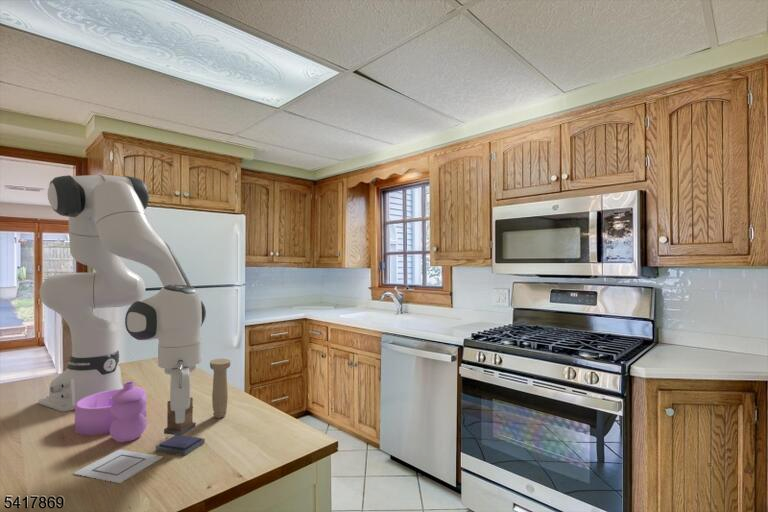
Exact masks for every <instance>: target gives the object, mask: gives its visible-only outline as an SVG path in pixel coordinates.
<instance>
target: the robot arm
mask: <svg viewBox="0 0 768 512" xmlns="http://www.w3.org/2000/svg"><path fill="white" fill-rule="evenodd" d="M149 198H150V196H149V190H148V187H147V185H146V183H145V182H143V180H142V179H140V178H137V177H133V176H129V175H127V176H119V175H110V174H98V175H96V174H95V175H94V174H91V175H89V174H87V175H74V176H72V175H70V174H68V175H61V176H56V177H54V178H53V179H52V180H51V181H50V182H49V185H48V189H47V199H48V202H49V205H50V207H51V208H52V210H53V211H54V212H55V213H57V214H58V215H59V216H61V217H62V216H63V217H68V238H69V252H70V255H71V257H72V258H73V259H74V260H75V261H76V262H78V263H80V264H82V265H85V266H87V267H89V268H91V269H93V270H94V272H66V273H59V274H54V275H49V276H48V277H46V279H44V280H43V282H42V283H41V285H40V288H39V298H40V300H41V302H42V303H43V304H44V305H45V306H46V307H47V308H49V309H50V310H53V311H54V312H55V313H57V314H59V315H60V317H62V318H63V319H64V321H65V322H66V324H67V325H68V328H69V330H70V337H71V356H69V357H65V362H66V363H67V366H66V369H65V370H64V371H63V372H61V373H60V374H59V375H58V376H56V377H55V378H54V379H52V381H51V382H50V384H49V390H48V394H47V395H46V396H43V397H41V398H40V399H38V402H37V403H38V404H39V405H42V406H43V407H44V406H45V407H47V408H51V409H53V410H56V411H58V412H68V411H73V410H74V411H75V403H76V402H77V401H79V400H80V399H82V398H84V397H87V396H89V395H93V394H96V393H100V392H104V391H109V390H115V389H123V388H124V386H123V383H122V380H123V379H122V371H121V367H120V365H119V363H120V351H119V350H118V327H117V325H115V323H113V322H111V321H109V320H107V319H104V318H100V317H98V316H96V315H95V312H94V309H104V308H105V309H106V308H107V309H108V308H122V307H127V306H128V309H127V311H126V313H125V318H124V319H125V320H124V326H125V329H126V331H127V332H128V334H129V335H130V336H131V337H132V338H134V339H136V340H137V341H152V340H156V339H157V340H158V347H157V350H158V351H157V354H158V355H157V366H158V368H160V369H164V370H163V371H164V374H166V375H169V377H170V382H169V383H170V385H169V386H170V389H169V391H170V395H169V397H170V398H169V399H170V400H169V401H170V408H171V411H175V422H176V423H177V424H178V423H183V422H184V421H185V409H188V408H189V407H190V397H191V372H193V371H196V365H199V364H200V363H201V362H202V359H203V358H202V357H203V356H202V353H203V349H202V346H203V344H202V341H203V339H202V337H201V328H202V325H203V324H204V323H205V321H206V320H205V319H206V316H207V312H206V311H207V310H206V307H205V304H204V302H203V301H202V299H201V295H200V293H199V290H198V289H197V288H196V287H194V286H191V282H190V281H189V279H188V276H186V274H185V272H184V270H183V268H182V266H181V264H180V262H179V260H178V258H177V257H176V254H175V252H174V251H173V250H172V248H171V247H170V245H169V244H168V243H167V242H165V241H164V240H163V238H161V237H160V236H159V235H158V234H157V232H156V231H155V229H154V228H153V226H152V225H151V223H150V220H149V217H148V215H147V211H146V209H147V207H148V206H149V203H150V202H149V201H150V199H149ZM121 258H122V259H126V260H129V261H133V262H136V263H138V264H140V265H144V266H146V267H148V268H149V269H151V270H152V271H153V272H155V273H156V275H157V276H158V278H159V280H160V282H161V284H162V286H163V287H161V288H160V290H159V292H158V293H156V294H153V295H152V296H150V297H147V298H144V296H145V293H146V289H147V288H146V283H145V281H144V279H143V277H141V276H140V275H139V274H137V273H136V272H134V271H133V270H132V269H130V268H129V267H127V266H126V264H125V263H124V262H123V260H122V259H121ZM143 298H144V299H143Z"/></svg>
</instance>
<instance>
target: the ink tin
mask: <svg viewBox="0 0 768 512" xmlns="http://www.w3.org/2000/svg"><path fill="white" fill-rule="evenodd" d="M205 444H206V443H205V438H202V437H197V436H196V437H195V436H189V435H185V434H183V435H182V436H179V435H173V436H171V437H170V438H168V439H166V440H164V441H162V442H161V443H159V444H157V445H155V451H156V452H161V453H165V454H166V453H168V454H173V455H179V456H184V457H185V456H187V455H188V454H189V453H191V452H193V451H194V450H196V449H198V448H199V447H201V446H202V445H205Z"/></svg>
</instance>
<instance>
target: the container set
mask: <svg viewBox="0 0 768 512" xmlns="http://www.w3.org/2000/svg"><path fill="white" fill-rule="evenodd" d="M123 387H124V388H123V389H115V390H109V391H104V392H100V393H96V394H93V395H89V396H87V397H84V398H82V399H80V400H79V401H77V402H76V403H75V409H74V431H75V432H76V434H79V435H83V436H84V435H85V436H89V435H91V436H92V435H95V434H97V435H104V433H105V434H110V437H111V438H112V439H113V440H115V441H116V442H117V441H118V443H126V441H127V442H131V440H132V441H134V440H137V439H138V437H139V438H140V437H141V436H142V435H143V433H144V432H145V430H146V429H147V425H148V424H147V423H148V422H147V419H146V417H147V410H146V409H147V392H146V390H145V389H144V388H142V387H140V386H135V381H127V382H126V381H125V382H124V383H123ZM95 436H96V435H95Z"/></svg>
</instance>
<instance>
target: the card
mask: <svg viewBox="0 0 768 512" xmlns="http://www.w3.org/2000/svg"><path fill="white" fill-rule="evenodd" d="M162 458H163V456H162V455H155V454H149V453H142V452H137V451H131V450H125V449H118V450H115V451H114V452H112V453H110V454H108V455H105V456H103V457H102V458H100V459H98V460H96V461H94V462H91V463H90V464H87V465H86V466H84V467H82V468H81V469H79V470H76V471H74V472H73V473H72V475H77V476H80V475H81V476H82V477H85V476H86V478H90V479H95V478H96V480H100V479H101V480H100V481H105V480H106V481H105V482H110V481H111V483H115V482H116V483H115V484H121V483H123V482H124V480H125V481H127V480H128V479H129V478H131V477H133V476H135V475H136V474H138V473H140V472H141V471H143V470H144V469H146V468H147V467H149V466H151V465H153V464H154V463H156V462H157V461H159V460H161V459H162ZM81 476H80V477H81Z"/></svg>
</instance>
